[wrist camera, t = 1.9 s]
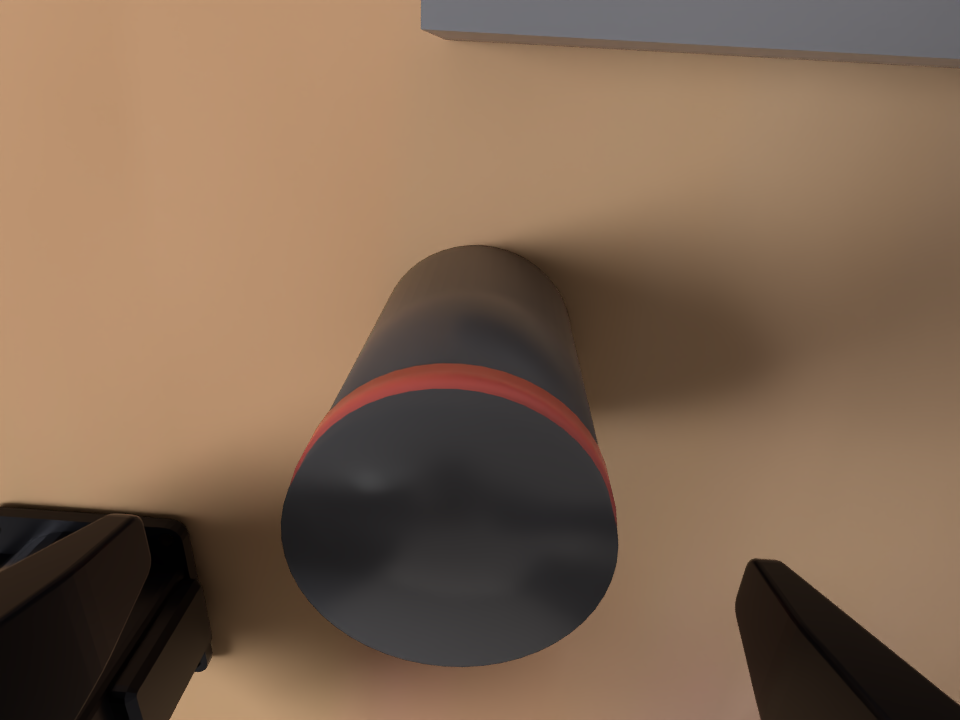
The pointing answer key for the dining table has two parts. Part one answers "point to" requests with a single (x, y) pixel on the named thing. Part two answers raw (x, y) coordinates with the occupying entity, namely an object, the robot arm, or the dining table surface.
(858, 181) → the dining table surface
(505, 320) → the lens
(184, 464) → the dining table surface
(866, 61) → the octagon ring plate
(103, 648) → the robot arm
